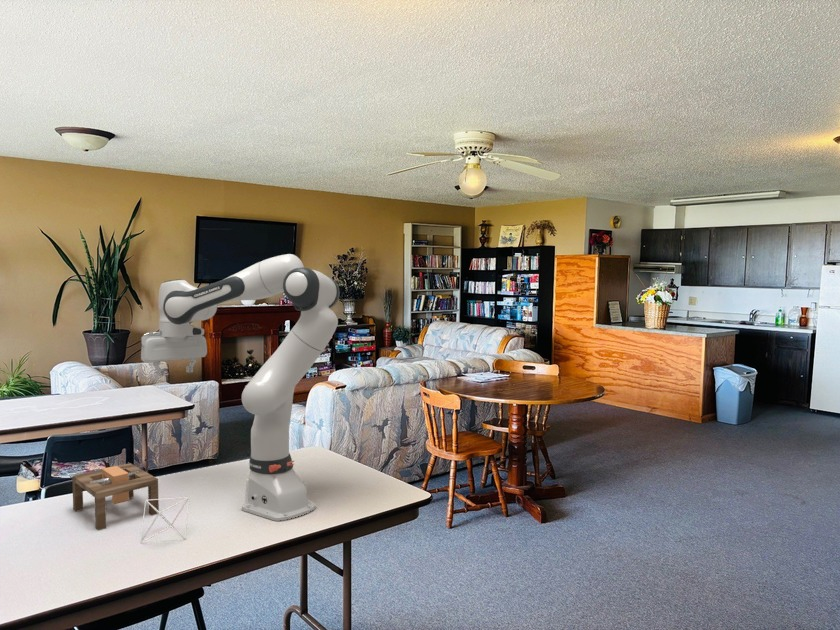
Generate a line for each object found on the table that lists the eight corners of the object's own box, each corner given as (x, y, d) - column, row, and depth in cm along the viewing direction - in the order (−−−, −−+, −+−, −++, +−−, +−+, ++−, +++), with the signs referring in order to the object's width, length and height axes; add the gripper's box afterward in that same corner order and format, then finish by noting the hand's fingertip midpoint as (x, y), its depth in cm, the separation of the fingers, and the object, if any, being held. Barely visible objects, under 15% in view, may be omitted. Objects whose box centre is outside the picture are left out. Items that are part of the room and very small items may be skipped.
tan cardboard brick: (129, 500, 169) (128, 473, 168) (114, 504, 166) (113, 476, 166) (117, 492, 175) (116, 465, 175) (102, 495, 172) (101, 468, 172)
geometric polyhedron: (199, 531, 158) (199, 498, 158) (169, 549, 148) (169, 513, 147) (161, 525, 162) (161, 492, 162) (130, 541, 152) (129, 506, 151)
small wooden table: (158, 513, 170) (158, 478, 169) (98, 530, 158) (97, 493, 158) (131, 495, 183) (130, 463, 183) (73, 509, 172) (72, 475, 171)
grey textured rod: (139, 476, 174) (139, 471, 174) (91, 488, 165) (91, 482, 165) (137, 475, 176) (137, 470, 175) (89, 486, 166) (89, 481, 166)
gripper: (145, 333, 180) (146, 379, 181) (209, 329, 195) (209, 371, 196) (136, 332, 184) (137, 376, 185) (199, 328, 199) (200, 369, 200)
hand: (175, 373), depth 190 cm, fingers open, 8 cm apart
